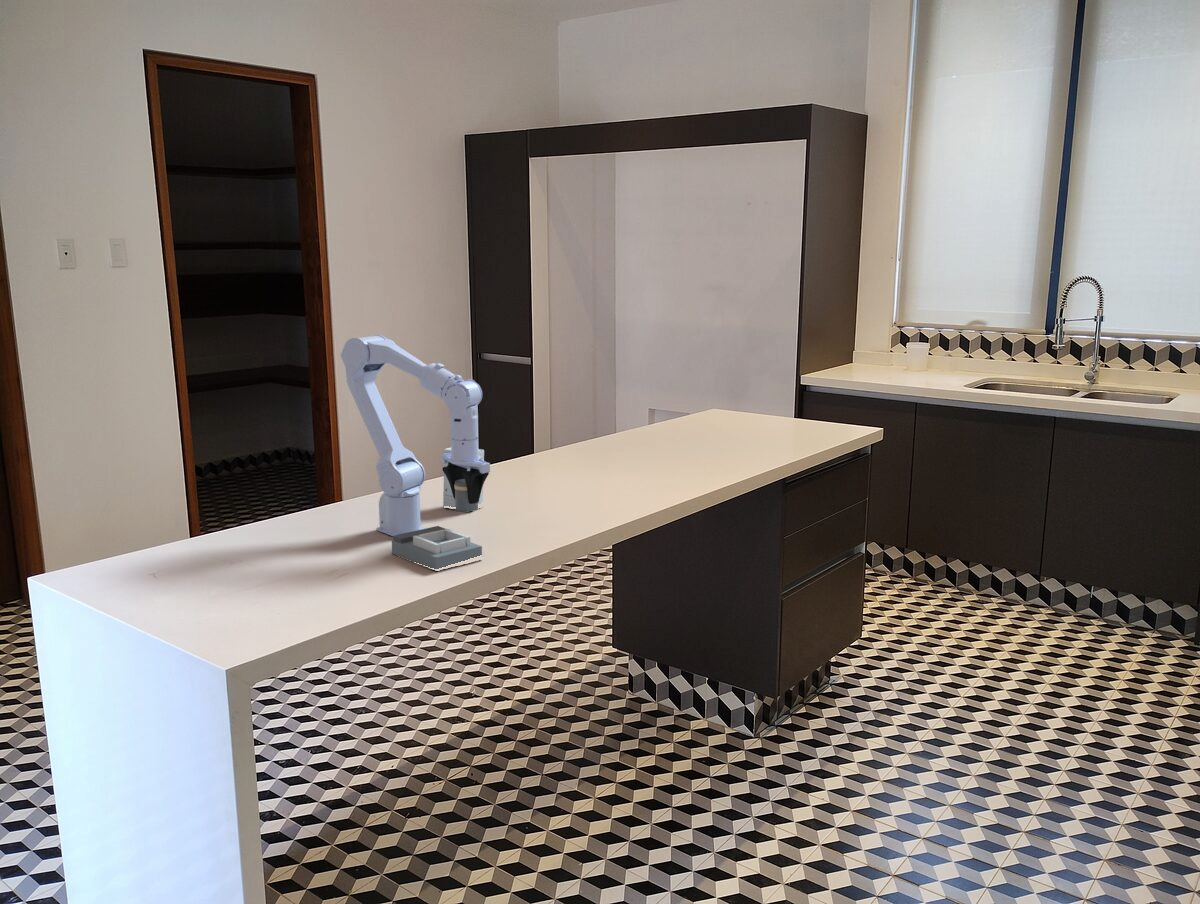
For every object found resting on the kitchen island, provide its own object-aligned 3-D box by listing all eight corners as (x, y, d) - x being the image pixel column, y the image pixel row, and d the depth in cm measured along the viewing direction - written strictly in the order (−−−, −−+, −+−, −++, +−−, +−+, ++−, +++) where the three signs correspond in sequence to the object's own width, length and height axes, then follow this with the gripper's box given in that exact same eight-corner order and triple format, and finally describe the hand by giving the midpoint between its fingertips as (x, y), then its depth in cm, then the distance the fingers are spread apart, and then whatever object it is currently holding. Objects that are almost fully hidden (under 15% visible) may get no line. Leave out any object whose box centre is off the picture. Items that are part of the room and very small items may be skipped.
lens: (450, 508, 207) (449, 481, 206) (469, 504, 211) (468, 477, 210) (464, 513, 204) (463, 485, 203) (483, 508, 208) (482, 481, 206)
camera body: (392, 554, 199) (391, 531, 198) (436, 543, 207) (436, 521, 206) (436, 572, 188) (435, 548, 187) (482, 560, 195) (481, 537, 194)
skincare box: (442, 509, 234) (441, 449, 231) (456, 503, 240) (455, 444, 237) (472, 513, 231) (471, 452, 228) (485, 507, 236) (484, 447, 233)
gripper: (501, 440, 202) (502, 503, 205) (459, 431, 212) (461, 491, 215) (473, 444, 197) (475, 509, 200) (432, 435, 207) (434, 496, 210)
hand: (466, 500), depth 207 cm, fingers closed on lens, 5 cm apart
